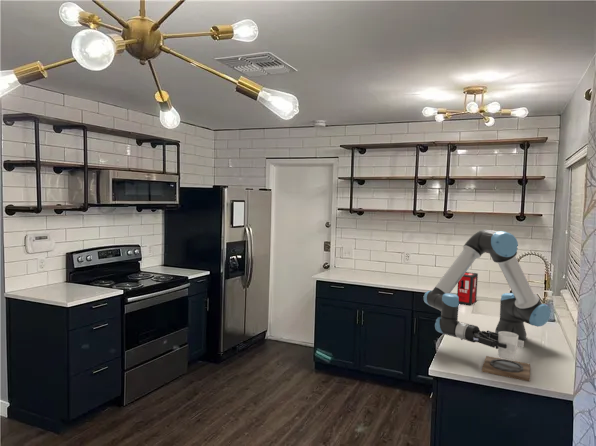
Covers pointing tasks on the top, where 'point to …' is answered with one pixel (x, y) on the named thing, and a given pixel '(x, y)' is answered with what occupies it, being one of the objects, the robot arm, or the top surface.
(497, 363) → the coaster board
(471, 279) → the cleaning product box
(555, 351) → the top surface
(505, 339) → the white cup
